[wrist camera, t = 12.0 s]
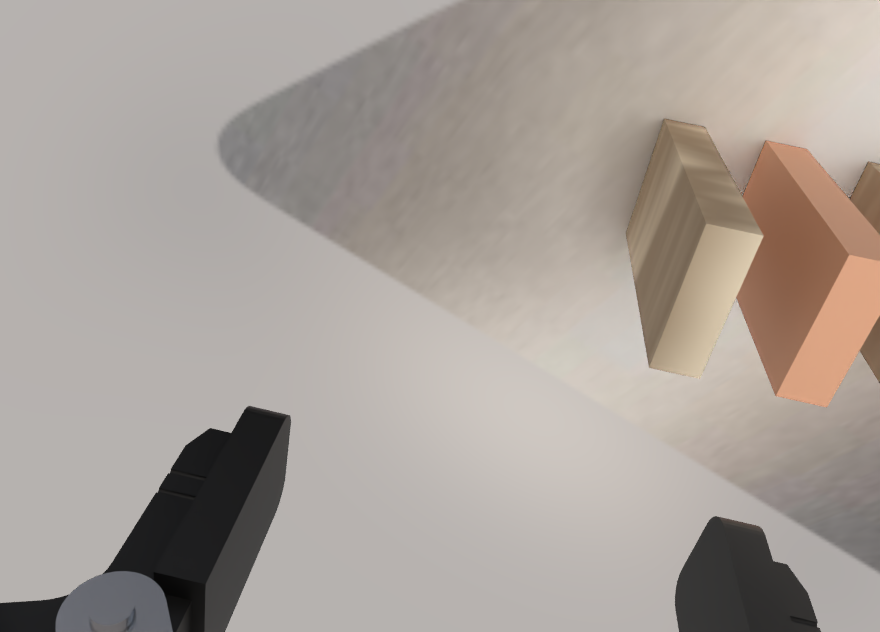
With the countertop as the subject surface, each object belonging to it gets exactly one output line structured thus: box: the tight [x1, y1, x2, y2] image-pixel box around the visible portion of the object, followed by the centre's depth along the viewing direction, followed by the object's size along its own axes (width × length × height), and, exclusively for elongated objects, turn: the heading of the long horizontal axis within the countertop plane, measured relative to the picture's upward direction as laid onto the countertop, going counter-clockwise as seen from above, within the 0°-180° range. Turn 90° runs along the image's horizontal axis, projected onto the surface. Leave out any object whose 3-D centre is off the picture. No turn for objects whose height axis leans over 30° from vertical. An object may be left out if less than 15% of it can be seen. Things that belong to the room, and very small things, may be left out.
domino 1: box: [626, 119, 763, 379], centre depth 26 cm, size 2×5×10 cm, turn 170°
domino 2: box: [736, 141, 880, 407], centre depth 26 cm, size 2×5×10 cm, turn 171°
